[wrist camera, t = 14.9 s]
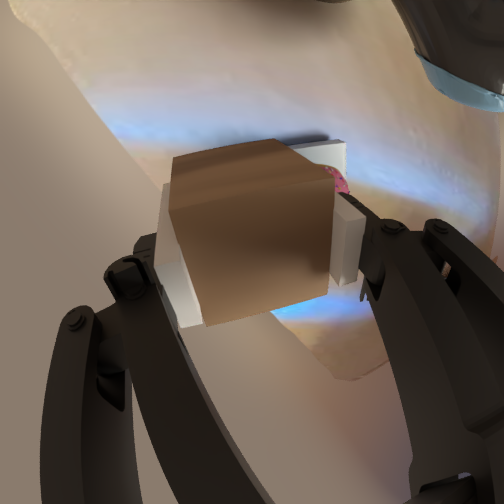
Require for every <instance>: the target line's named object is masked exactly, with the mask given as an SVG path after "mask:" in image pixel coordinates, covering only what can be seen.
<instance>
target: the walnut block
mask: <svg viewBox="0 0 504 504" xmlns="http://www.w3.org/2000/svg"><path fill="white" fill-rule="evenodd" d="M334 202H335V177H334V176H332V175H331V174H329V173H328V172H327V171H325V170H324V169H322V168H321V167H319V166H318V165H316V164H315V163H313V162H311V161H310V160H308V159H307V158H305V157H304V156H302V155H301V154H299V153H297V152H296V151H294V150H293V149H291V148H289V147H288V146H286V145H284V144H283V143H281V142H279V141H278V140H276V139H266V140H260V141H253V142H247V143H241V144H235V145H229V146H224V147H219V148H214V149H209V150H204V151H199V152H195V153H190V154H186V155H182V156H178V157H173V163H172V172H171V182H170V193H169V206H168V212H169V215H170V219H171V222H172V226H173V229H174V232H175V236H176V239H177V242H178V244H179V246H180V249H181V252H182V255H183V258H184V261H185V264H186V267H187V270H188V273H189V276H190V279H191V282H192V285H193V288H194V291H195V294H196V296H197V299H198V302H199V305H200V310H201V313H202V316H203V318H204V321H205V324H206V326H207V327H208V326H212V325H216V324H220V323H225V322H229V321H233V320H237V319H241V318H244V317H248V316H252V315H256V314H260V313H264V312H268V311H271V310H275V309H279V308H282V307H286V306H289V305H293V304H296V303H300V302H303V301H307V300H310V299H313V298H317V297H320V296H323V295H326V294H327V293H328V284H329V274H330V273H329V269H330V258H331V245H332V229H333V209H334Z"/></svg>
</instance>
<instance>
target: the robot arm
mask: <svg viewBox="0 0 504 504" xmlns="http://www.w3.org/2000/svg"><path fill="white" fill-rule="evenodd" d="M318 1H322V2H328V3H342V2H347V1H350V0H318ZM391 1H392V2H393V4H394V6H395V8H396V9H397V11H398V13H399V15H400V17H401V19H402V21H403V23H404V25H405V27H406V29H407V31H408V33H409V35H410V38H411V40H412V42H413V44H414V47H415V48H414V51H415V53H416V55H417V57H418V58H420V60H421V63H422V65H423V67H424V70H425V72H426V74H427V77H428V79H429V81H430V82H431V84H432V85H433V86H434V87H435V88H436V89H437V90H438V91H439V92H441V93H442V94H444V95H446V96H448V97H449V98H450V99H452V100H454V101H457V102H459V103H461V104H464V105H467V106H470V107H474V108H477V109H482V110H486V111H493V112H504V0H391ZM169 193H170V183H166V184H163V191H162V198H161V205H160V212H159V220H158V228H157V232H156V233H152V234H149V235H145V236H141V237H140V238H139V240H138V241H137V242H136V244H135V245H134V251H133V255H129V256H126V257H122V258H120V259H118V260H117V261H115V262H114V263H112V264H111V265H110V266H109V267H108V269H107V270H106V271H105V273H104V281H105V283H106V284H107V286H108V288H109V290H110V291H111V293H112V295H113V297H114V298H115V300H116V302H115V303H114V304H112V305H111V306H109V307H107V308H105V309H103V310H101V311H99V312H97V313H94V311H93V310H92V308H91V307H89V306H86V305H85V306H78V307H76V308H74V309H72V310H71V311H69V312H68V313H67V314H66V316H65V317H64V318H63V319H62V322H61V324H60V327H59V331H58V335H57V338H56V342H55V346H54V350H53V355H52V360H51V365H50V369H49V374H48V380H47V386H46V392H45V399H44V406H43V415H42V425H41V441H40V485H41V499H42V504H143V502H142V497H141V491H140V485H139V478H138V471H137V463H136V453H135V443H134V430H133V413H132V383H133V387H134V390H135V394H136V397H137V401H138V404H139V407H140V411H141V414H142V417H143V420H144V423H145V426H146V429H147V431H148V434H149V437H150V440H151V443H152V445H153V448H154V450H155V453H156V455H157V458H158V460H159V463H160V465H161V467H162V470H163V472H164V474H165V477H166V479H167V481H168V483H169V485H170V487H171V489H172V491H173V493H174V496H175V497H176V499H177V501H178V503H179V504H275V503H274V501H273V500H272V499H271V497H270V496H269V494H268V493H267V491H266V490H265V489H264V487H263V486H262V484H261V483H260V481H259V480H258V478H257V477H256V475H255V474H254V472H253V471H252V469H251V468H250V466H249V464H248V463H247V461H246V460H245V458H244V457H243V455H242V453H241V452H240V450H239V448H238V447H237V445H236V443H235V442H234V440H233V438H232V437H231V435H230V433H229V431H228V430H227V428H226V426H225V424H224V423H223V421H222V419H221V417H220V416H219V413H218V412H217V410H216V408H215V406H214V404H213V402H212V400H211V398H210V396H209V394H208V392H207V390H206V388H205V387H204V384H203V383H202V381H201V378H200V376H199V374H198V372H197V370H196V368H195V366H194V364H193V362H192V360H191V357H190V355H189V353H188V351H187V349H186V346H185V344H184V342H183V339H182V337H181V335H180V333H179V331H178V327H177V320H178V322H179V324H180V327H181V328H184V327H189V326H193V325H198V324H202V316H201V310H200V305H199V302H198V299H197V296H196V294H195V291H194V288H193V285H192V282H191V279H190V276H189V273H188V270H187V267H186V264H185V261H184V258H183V255H182V252H181V249H180V246H179V244H178V242H177V239H176V236H175V232H174V229H173V226H172V222H171V219H170V215H169V212H168V206H169ZM446 262H447V263H448V264H449V265H450V266H451V270H450V272H449V275H448V277H447V278H445V277H444V276H443V275H442V273H443V270H444V268H445V265H446ZM359 269H360V270H361V272H362V273H363V274H364V280H363V285H362V289H361V294H360V302H361V301H363V299H364V295H365V293H366V295H367V301H369V303H370V305H371V308H372V311H373V314H374V316H375V319H376V322H377V325H378V327H379V330H380V333H381V336H382V339H383V342H384V345H385V348H386V351H387V354H388V358H389V361H390V364H391V367H392V371H393V374H394V377H395V381H396V384H397V388H398V391H399V395H400V399H401V403H402V407H403V411H404V415H405V419H406V423H407V428H408V432H409V437H410V441H411V446H412V452H413V460H412V463H411V465H410V468H409V483H410V490H411V499H410V500H408V501H407V502H405V503H404V504H504V272H503V271H502V270H501V269H500V268H499V267H498V266H497V265H496V264H495V263H494V262H493V261H492V260H491V259H490V258H489V257H487V256H486V255H485V254H484V253H483V252H482V251H481V250H480V249H479V248H477V247H476V246H475V245H474V244H473V243H472V242H471V241H469V240H468V239H467V238H466V237H465V236H464V235H462V234H461V233H460V232H459V231H457V230H456V229H455V228H454V227H453V226H451V225H450V224H448V223H447V222H445V221H442V220H441V219H429V220H427V221H426V222H425V225H424V229H423V231H410V230H409V229H408V228H407V227H406V226H405V225H404V224H403V223H401V222H399V221H396V220H393V219H380V218H379V217H378V216H377V215H375V214H374V213H373V212H372V211H371V210H369V209H368V208H367V207H365V206H364V205H363V204H362V203H361V202H359V201H358V200H357V199H356V198H354V197H353V196H352V195H349V194H347V193H344V192H336V191H335V202H334V209H333V229H332V245H331V258H330V269H329V273H330V274H331V276H332V277H333V278H334V280H335V281H336V283H337V284H338V286H342V285H346V284H349V283H352V282H355V281H357V275H358V270H359ZM463 472H467V473H470V474H471V475H470V476H467V477H464V478H461V479H458V474H460V473H463Z"/></svg>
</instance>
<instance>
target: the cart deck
mask: <svg viewBox="0 0 504 504" xmlns="http://www.w3.org/2000/svg"><path fill="white" fill-rule="evenodd" d="M288 147H289V148H291V149H293V150H294V151H296V152H297V153H299V154H301V155H302V156H304V157H305V158H307V159H308V160H310V161H311V162H313V163H315V164H324V165H329V166H333V167H335V168H336V169H338V170H339V171H340V173H341V174H342V176H343V177H344V179H345V180H346V142H343V141H341V140H339V139H336V140H327V141H318V142H311V143H303V144H296V145H290V146H288Z"/></svg>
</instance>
